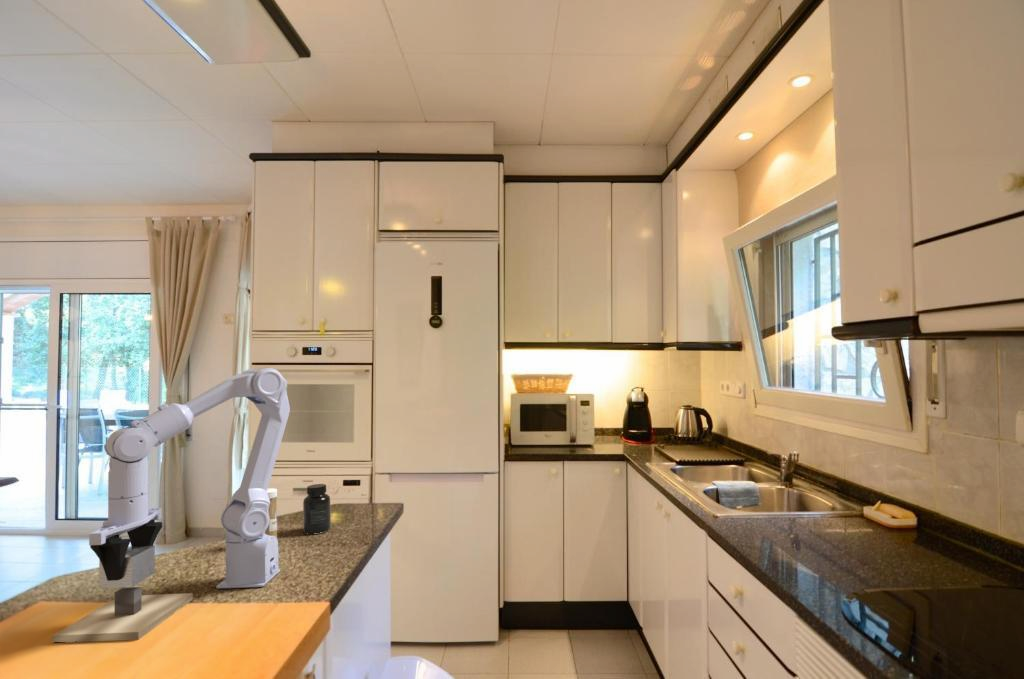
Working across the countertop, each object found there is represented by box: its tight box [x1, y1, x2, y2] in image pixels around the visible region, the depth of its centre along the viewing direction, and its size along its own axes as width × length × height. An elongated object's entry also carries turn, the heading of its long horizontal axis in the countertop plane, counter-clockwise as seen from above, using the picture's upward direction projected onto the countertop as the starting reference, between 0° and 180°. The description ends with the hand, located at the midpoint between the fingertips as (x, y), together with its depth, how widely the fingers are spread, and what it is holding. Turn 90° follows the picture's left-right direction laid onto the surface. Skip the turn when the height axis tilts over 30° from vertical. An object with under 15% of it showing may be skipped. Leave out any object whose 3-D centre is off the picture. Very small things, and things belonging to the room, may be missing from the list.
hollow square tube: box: [98, 545, 156, 589], centre depth 89 cm, size 6×6×5 cm
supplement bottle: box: [302, 483, 332, 535], centre depth 135 cm, size 7×7×12 cm
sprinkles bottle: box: [265, 487, 279, 541], centre depth 126 cm, size 5×5×14 cm
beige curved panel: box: [52, 586, 194, 643], centre depth 89 cm, size 14×14×5 cm
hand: (128, 572), depth 89 cm, fingers closed on hollow square tube, 6 cm apart
